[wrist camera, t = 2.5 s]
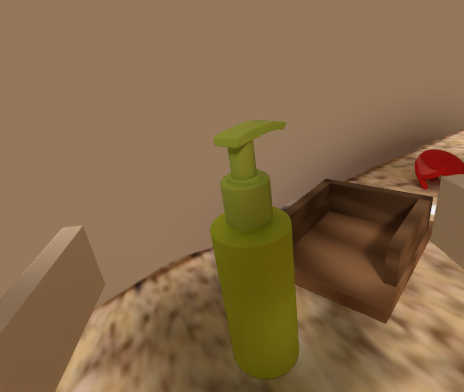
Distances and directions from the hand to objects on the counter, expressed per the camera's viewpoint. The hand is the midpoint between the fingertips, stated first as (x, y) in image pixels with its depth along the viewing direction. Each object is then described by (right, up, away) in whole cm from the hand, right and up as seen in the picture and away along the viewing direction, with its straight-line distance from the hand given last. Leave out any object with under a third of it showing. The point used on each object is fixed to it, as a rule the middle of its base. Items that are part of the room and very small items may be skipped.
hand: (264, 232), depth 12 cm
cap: (+33, +3, +40) cm, 52 cm away
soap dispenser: (+2, -12, +17) cm, 21 cm away
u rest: (+14, -5, +27) cm, 31 cm away
